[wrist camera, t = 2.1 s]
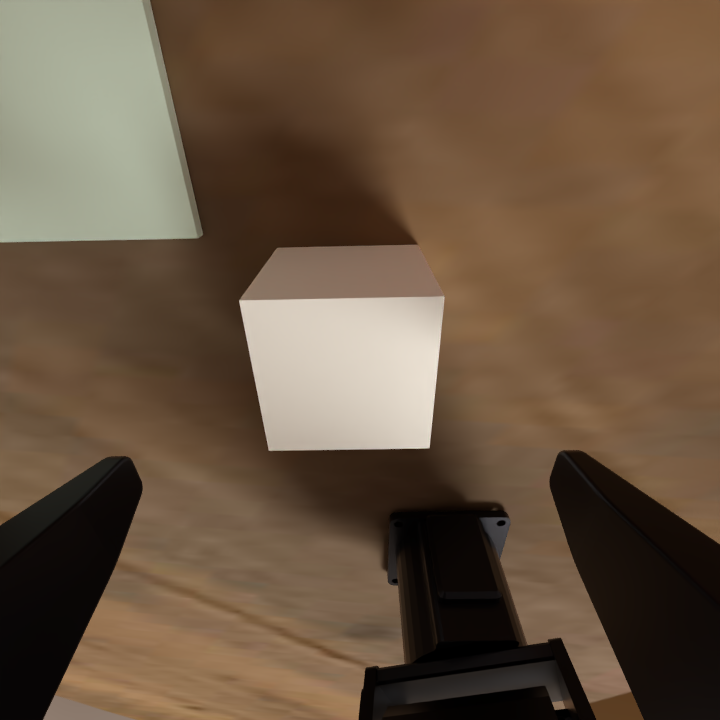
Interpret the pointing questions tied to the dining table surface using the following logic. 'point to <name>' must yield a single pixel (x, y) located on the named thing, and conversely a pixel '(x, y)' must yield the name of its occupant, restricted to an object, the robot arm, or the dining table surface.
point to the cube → (345, 347)
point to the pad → (88, 126)
